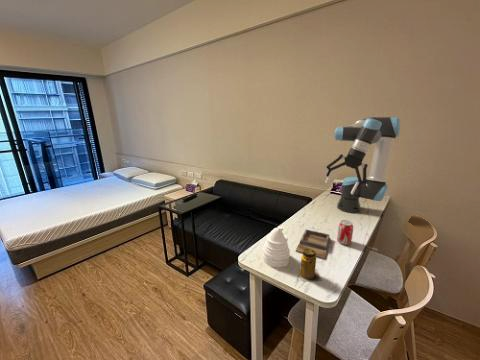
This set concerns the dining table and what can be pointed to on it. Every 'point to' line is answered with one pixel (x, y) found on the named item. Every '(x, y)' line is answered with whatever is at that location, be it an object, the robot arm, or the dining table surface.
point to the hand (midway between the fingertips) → (338, 188)
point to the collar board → (314, 243)
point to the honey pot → (276, 249)
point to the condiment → (309, 266)
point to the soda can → (345, 232)
